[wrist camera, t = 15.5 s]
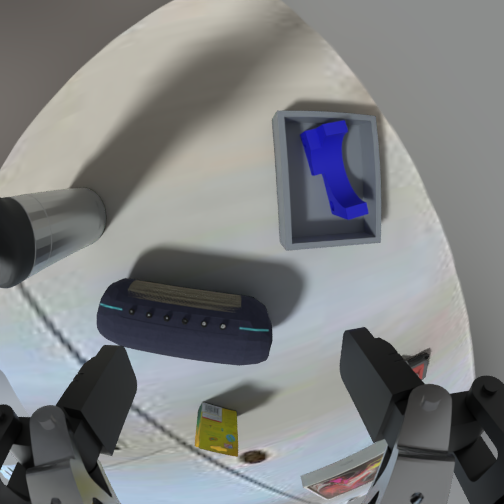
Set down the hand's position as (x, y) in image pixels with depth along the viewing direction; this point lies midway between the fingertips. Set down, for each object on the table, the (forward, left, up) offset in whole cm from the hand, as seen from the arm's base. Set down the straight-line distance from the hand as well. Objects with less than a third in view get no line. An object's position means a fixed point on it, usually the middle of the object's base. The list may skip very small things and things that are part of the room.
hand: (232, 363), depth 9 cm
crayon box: (-7, -36, -30) cm, 48 cm away
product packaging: (+29, -76, -31) cm, 87 cm away
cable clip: (+13, +7, -29) cm, 33 cm away
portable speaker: (-8, -12, -30) cm, 34 cm away
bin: (+13, +6, -30) cm, 33 cm away
